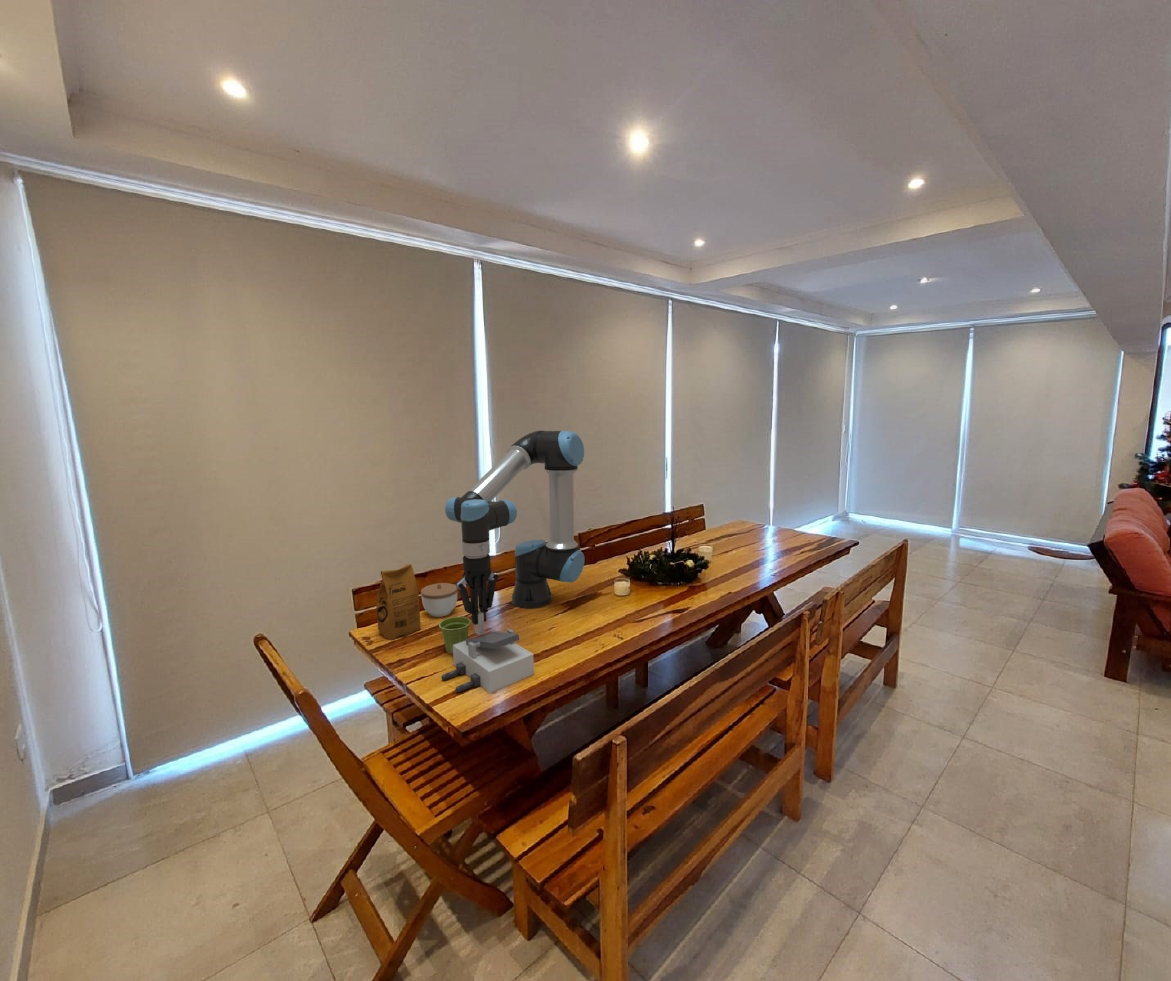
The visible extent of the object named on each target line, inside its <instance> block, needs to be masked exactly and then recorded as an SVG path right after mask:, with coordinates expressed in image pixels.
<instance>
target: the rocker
mask: <svg viewBox="0 0 1171 981" xmlns="http://www.w3.org/2000/svg"><path fill="white" fill-rule="evenodd" d="M494 631H495V630H493V631H491V630H487V631H484V634H483V635H480V636H479V635H478V634H476V635H474V636H471V637H467V639H465V640H466V645H468V643H469V642H472V643H474V644H475V645H476V647H483V648H490V649H496V648H499V647H502V646H504V645H507V644H510V643H512V642H515V643H516V642H518V641H520V635H519V633H514V634H513V633H508V632H507V631H506V632H501V631H496V632H494Z"/></svg>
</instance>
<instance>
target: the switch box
mask: <svg viewBox="0 0 1171 981" xmlns="http://www.w3.org/2000/svg"><path fill="white" fill-rule="evenodd" d="M493 631H494V632H497V631H496V630H493ZM506 632H508V633H513V634H515V631H514V630H513V629H511V628H507V629H506ZM452 657H453V658H452V660H453V665H454V666H455V668H456V669H454V670H451V671H449V672H446V673H443V674H442V675H441V679H442V680H443V681H446V680H449V679H452V678H455V677H457V676H463V675H466V676H467V677H469V678H470V680H469V681H467V682H465V683H462V684H460V685H457V686H456V687H455V692H456V693H462V692H463V691H466V690H468V689H471V688H476V687H479V686H480V687H482V688H483V690H485V691H487V692H488V693H489V694H492V693H494V692H497V691H499V690H501V689H503V688H506V687H508V686H510V685H512V684H515V683H517V682H519V681H522V680H524V679H526V678H528V677H532V676H533V675H534V674H535V673H534V672H535V670H534V668H535V667H534V666H535V665H534V664H535V662H534V653H532V652H530V651H529V650H527V649H525V648H524V647H522V646H520V645H519V644H518V643H516V641H515V642H512V643H510V644H507V645H504V646H502V647H499V648H496V649H490V648H483V647H476V645H475V644H474V643H472V642H469V643H468V645H466V641H463V642H460V643H457V644H454V645H453V653H452Z"/></svg>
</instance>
